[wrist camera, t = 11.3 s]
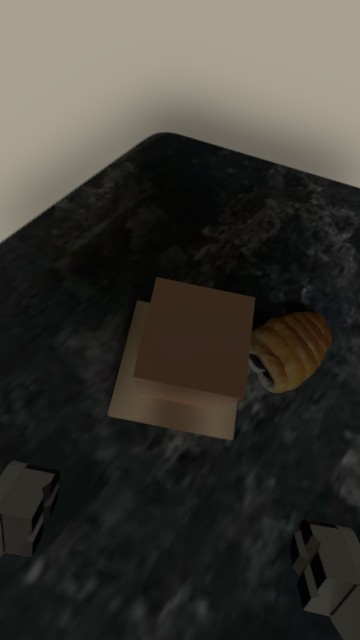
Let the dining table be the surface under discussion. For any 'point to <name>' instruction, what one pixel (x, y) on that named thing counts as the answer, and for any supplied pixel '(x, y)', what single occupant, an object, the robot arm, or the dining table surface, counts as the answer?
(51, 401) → the dining table surface
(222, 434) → the oak base block
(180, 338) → the reddish brown block
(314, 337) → the pastry
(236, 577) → the dining table surface
